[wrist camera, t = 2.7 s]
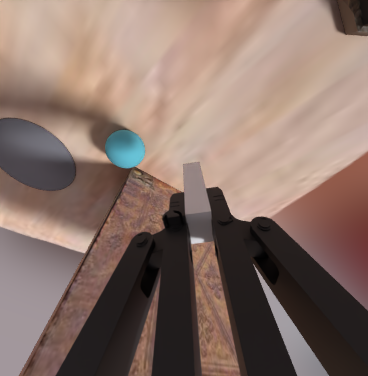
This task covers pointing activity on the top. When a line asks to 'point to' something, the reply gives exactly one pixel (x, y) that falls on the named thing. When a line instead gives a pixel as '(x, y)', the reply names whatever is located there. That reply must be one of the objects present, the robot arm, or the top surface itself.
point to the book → (204, 286)
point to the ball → (125, 149)
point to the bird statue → (354, 16)
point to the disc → (34, 155)
